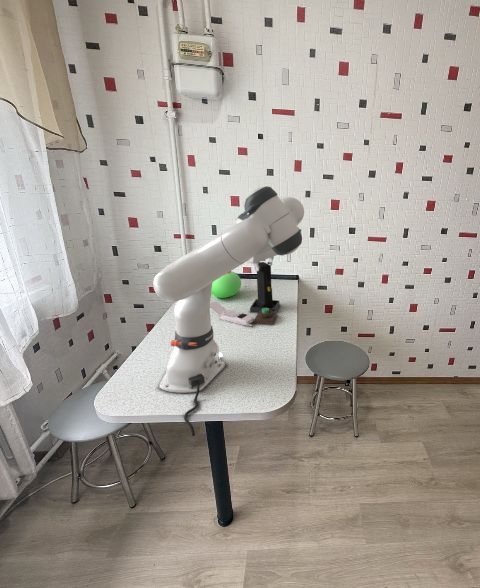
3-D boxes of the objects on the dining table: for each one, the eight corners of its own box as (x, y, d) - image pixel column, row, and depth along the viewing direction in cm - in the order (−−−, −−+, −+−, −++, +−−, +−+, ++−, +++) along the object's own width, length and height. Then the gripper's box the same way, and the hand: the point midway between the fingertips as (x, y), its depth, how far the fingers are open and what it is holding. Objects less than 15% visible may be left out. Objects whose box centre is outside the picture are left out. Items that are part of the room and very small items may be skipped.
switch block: (271, 325, 149) (271, 317, 147) (254, 323, 149) (253, 315, 147) (276, 315, 158) (276, 307, 156) (259, 314, 158) (259, 306, 157)
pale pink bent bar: (214, 300, 157) (258, 310, 148) (215, 311, 159) (258, 322, 150) (205, 304, 152) (249, 316, 142) (206, 316, 154) (250, 328, 145)
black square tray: (275, 313, 159) (275, 309, 158) (250, 312, 160) (250, 307, 159) (279, 305, 169) (279, 300, 168) (255, 303, 170) (255, 299, 169)
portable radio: (275, 308, 163) (274, 260, 154) (264, 311, 160) (262, 262, 150) (266, 303, 169) (265, 256, 160) (256, 306, 165) (254, 258, 156)
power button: (268, 314, 150) (268, 310, 150) (261, 313, 150) (261, 310, 150) (269, 311, 153) (269, 307, 153) (262, 310, 153) (262, 307, 153)
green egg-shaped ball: (228, 304, 167) (226, 277, 161) (200, 299, 171) (197, 272, 166) (247, 292, 183) (246, 267, 177) (221, 288, 187) (219, 263, 182)
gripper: (270, 234, 162) (271, 261, 167) (243, 242, 144) (244, 272, 149) (281, 236, 159) (281, 263, 164) (254, 244, 142) (256, 274, 147)
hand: (264, 268), depth 157 cm, fingers open, 8 cm apart
